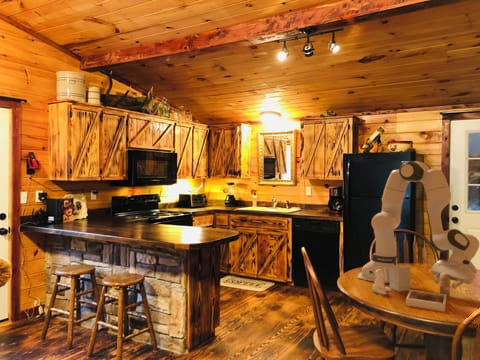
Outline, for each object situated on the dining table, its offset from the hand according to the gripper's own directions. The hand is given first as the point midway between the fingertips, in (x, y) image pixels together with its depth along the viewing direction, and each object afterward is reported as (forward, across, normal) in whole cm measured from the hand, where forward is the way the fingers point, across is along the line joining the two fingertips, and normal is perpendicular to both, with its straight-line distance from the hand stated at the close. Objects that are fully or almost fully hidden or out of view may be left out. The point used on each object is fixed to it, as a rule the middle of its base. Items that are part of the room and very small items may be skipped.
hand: (444, 285), depth 189 cm
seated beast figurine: (+20, -21, -10) cm, 30 cm away
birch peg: (+4, 0, +5) cm, 7 cm away
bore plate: (+15, +2, -7) cm, 17 cm away
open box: (+16, +2, -6) cm, 17 cm away
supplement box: (+11, -19, -1) cm, 22 cm away
